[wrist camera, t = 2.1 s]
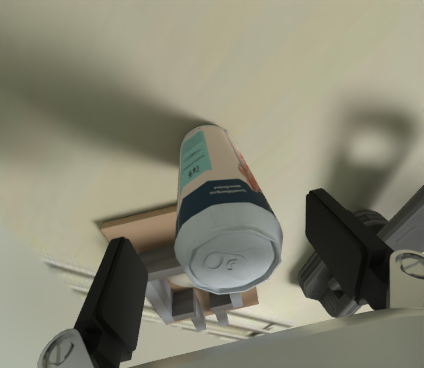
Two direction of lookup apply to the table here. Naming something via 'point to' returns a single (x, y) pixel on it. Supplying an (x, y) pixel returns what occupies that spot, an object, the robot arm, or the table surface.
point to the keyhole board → (172, 271)
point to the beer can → (222, 216)
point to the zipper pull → (388, 232)
